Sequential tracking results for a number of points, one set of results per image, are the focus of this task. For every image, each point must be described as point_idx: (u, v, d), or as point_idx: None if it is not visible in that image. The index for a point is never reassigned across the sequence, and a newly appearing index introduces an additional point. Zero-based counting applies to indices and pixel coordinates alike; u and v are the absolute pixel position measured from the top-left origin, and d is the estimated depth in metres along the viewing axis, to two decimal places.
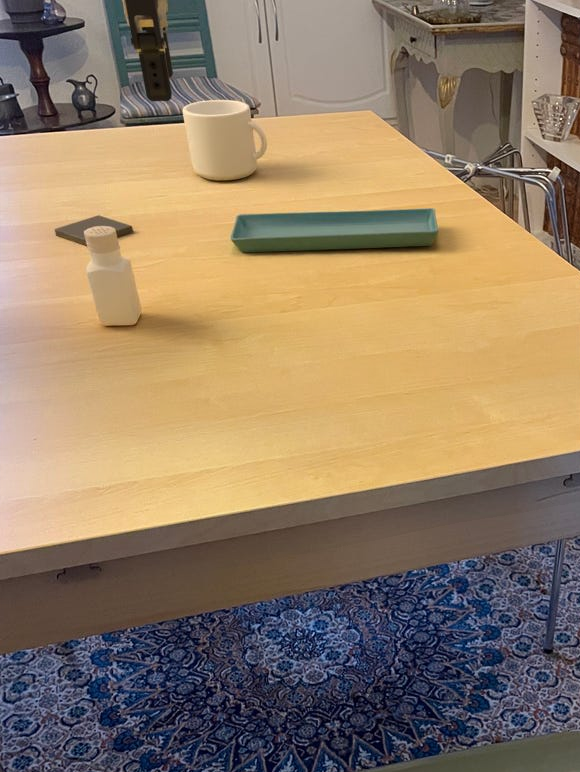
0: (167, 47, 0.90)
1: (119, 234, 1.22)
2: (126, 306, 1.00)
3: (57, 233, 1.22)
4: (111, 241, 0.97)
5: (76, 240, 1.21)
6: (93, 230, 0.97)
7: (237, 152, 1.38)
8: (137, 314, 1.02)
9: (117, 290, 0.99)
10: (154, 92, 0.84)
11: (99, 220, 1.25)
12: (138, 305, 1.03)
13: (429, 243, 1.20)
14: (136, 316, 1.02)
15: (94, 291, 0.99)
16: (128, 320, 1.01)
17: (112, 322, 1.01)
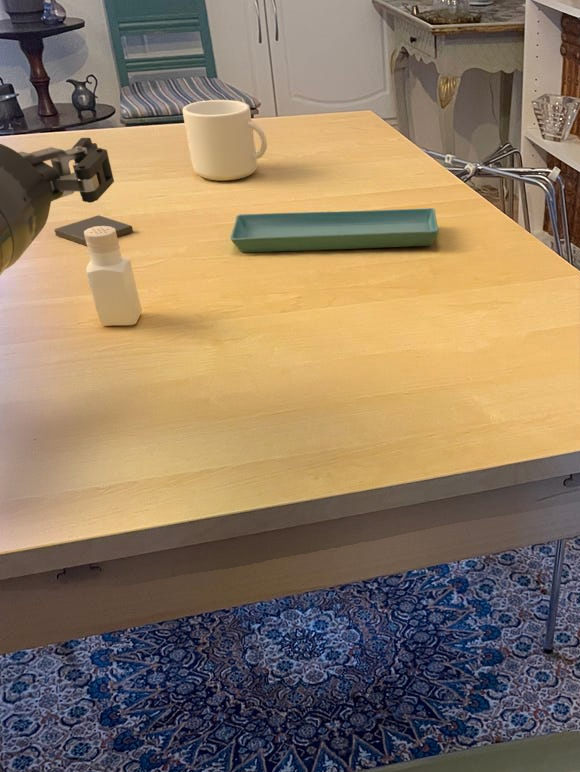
0: None
1: (119, 234, 1.22)
2: (126, 306, 1.00)
3: (57, 233, 1.22)
4: (111, 241, 0.97)
5: (76, 240, 1.21)
6: (93, 230, 0.97)
7: (237, 152, 1.38)
8: (137, 314, 1.02)
9: (117, 290, 0.99)
10: None
11: (99, 220, 1.25)
12: (138, 305, 1.03)
13: (429, 243, 1.20)
14: (136, 316, 1.02)
15: (94, 291, 0.99)
16: (128, 320, 1.01)
17: (112, 322, 1.01)
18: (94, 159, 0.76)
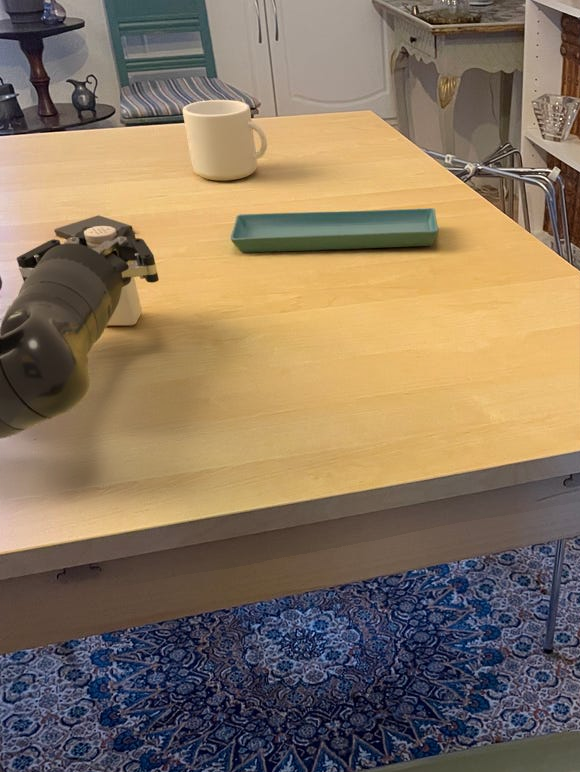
0: None
1: None
2: (126, 306, 1.00)
3: (57, 233, 1.22)
4: None
5: None
6: (93, 230, 0.97)
7: (237, 152, 1.38)
8: (137, 314, 1.02)
9: None
10: None
11: (99, 220, 1.25)
12: (138, 305, 1.03)
13: (429, 243, 1.20)
14: (136, 316, 1.02)
15: None
16: (128, 320, 1.01)
17: (112, 322, 1.01)
18: (145, 248, 0.94)
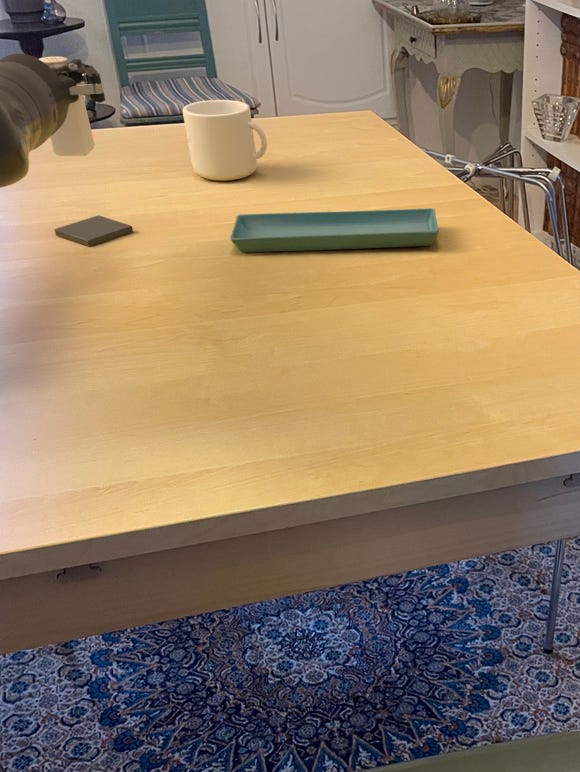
0: None
1: (119, 234, 1.22)
2: (78, 135, 1.07)
3: (57, 233, 1.22)
4: None
5: (76, 240, 1.21)
6: (46, 58, 1.04)
7: (237, 152, 1.38)
8: (89, 146, 1.09)
9: (69, 118, 1.06)
10: None
11: (99, 220, 1.25)
12: (91, 138, 1.10)
13: (429, 243, 1.20)
14: (88, 147, 1.09)
15: None
16: (80, 150, 1.08)
17: (65, 152, 1.08)
18: (93, 70, 1.01)
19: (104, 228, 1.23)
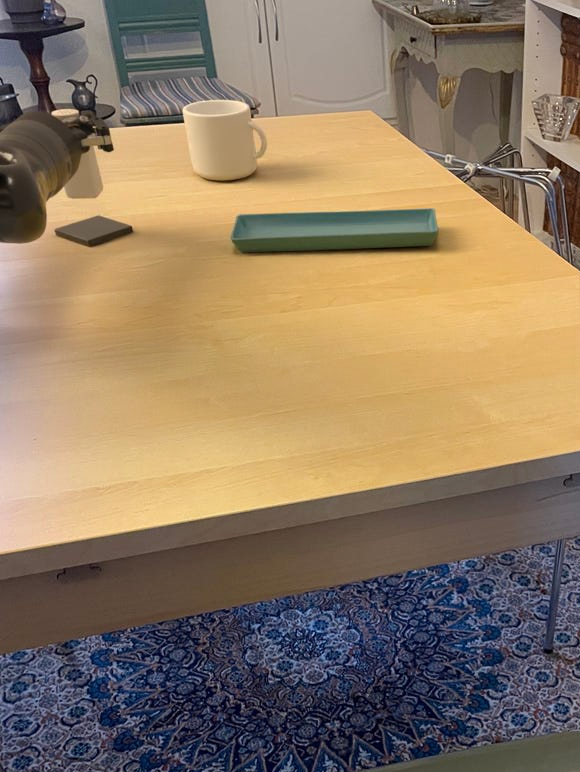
0: None
1: (119, 234, 1.22)
2: (89, 180, 1.17)
3: (57, 233, 1.22)
4: None
5: (76, 240, 1.21)
6: (59, 111, 1.14)
7: (237, 152, 1.38)
8: (99, 189, 1.19)
9: (80, 165, 1.16)
10: None
11: (99, 220, 1.25)
12: (100, 182, 1.20)
13: (429, 243, 1.20)
14: (98, 190, 1.19)
15: None
16: (90, 193, 1.18)
17: (77, 195, 1.18)
18: (102, 123, 1.11)
19: (104, 228, 1.23)
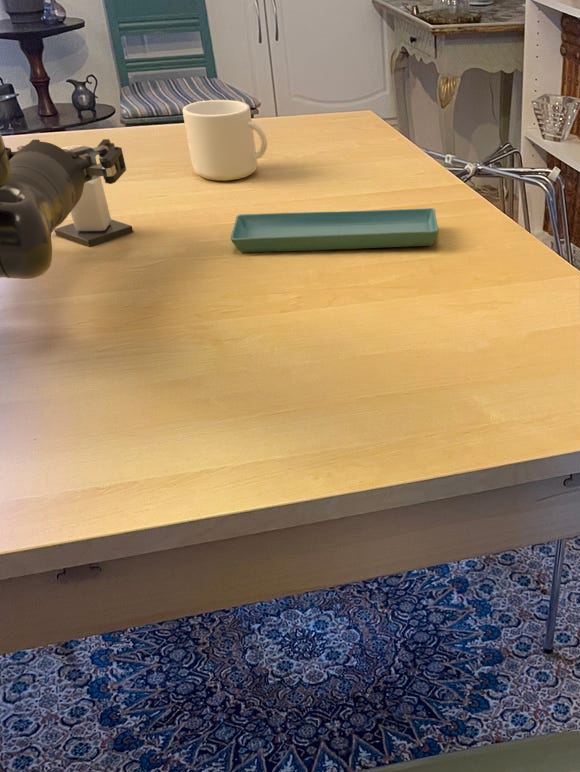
0: None
1: (119, 234, 1.22)
2: (97, 214, 1.20)
3: (57, 233, 1.22)
4: (83, 157, 1.16)
5: (76, 240, 1.21)
6: (68, 147, 1.16)
7: (237, 152, 1.38)
8: (106, 222, 1.22)
9: (89, 199, 1.19)
10: None
11: None
12: (107, 215, 1.22)
13: (429, 243, 1.20)
14: (106, 223, 1.21)
15: None
16: (98, 226, 1.21)
17: (85, 228, 1.21)
18: (113, 154, 1.11)
19: None
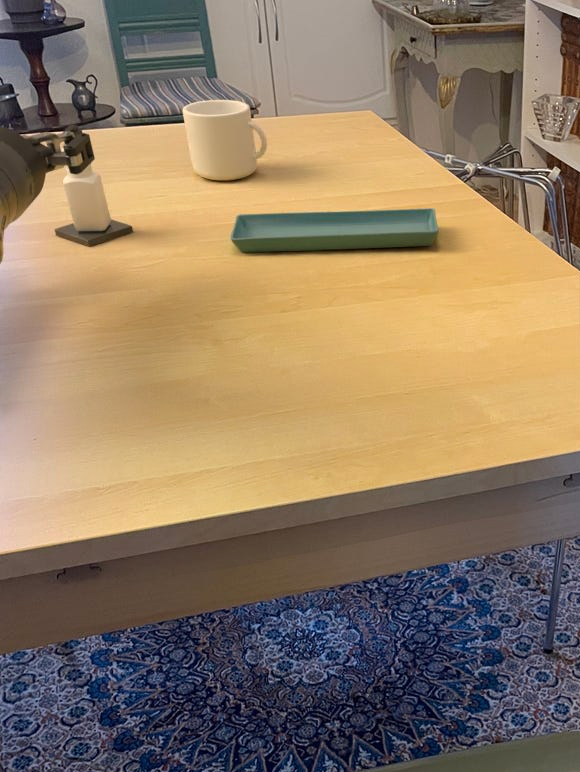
0: None
1: (119, 234, 1.22)
2: (97, 214, 1.20)
3: (57, 233, 1.22)
4: None
5: (76, 240, 1.21)
6: None
7: (237, 152, 1.38)
8: (106, 222, 1.22)
9: (89, 199, 1.19)
10: None
11: None
12: (107, 215, 1.22)
13: (429, 243, 1.20)
14: (106, 223, 1.21)
15: (70, 200, 1.19)
16: (98, 226, 1.21)
17: (85, 228, 1.21)
18: (79, 141, 1.00)
19: None
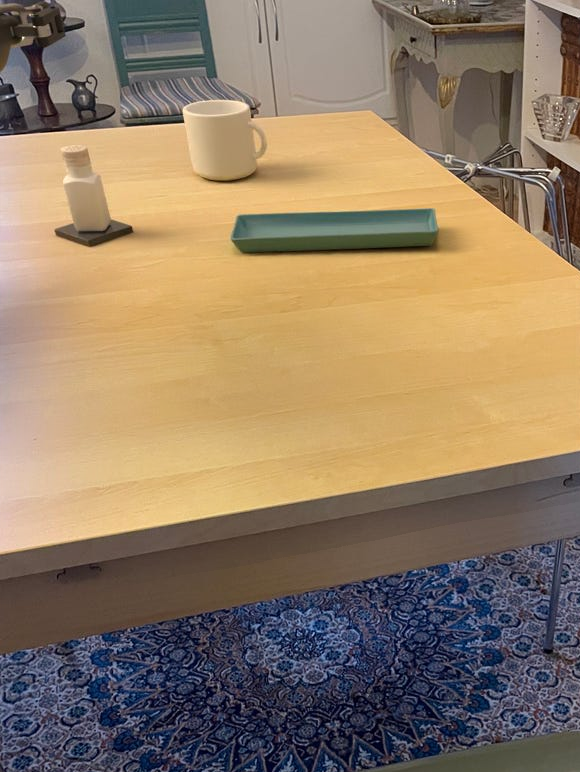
0: None
1: (119, 234, 1.22)
2: (97, 214, 1.20)
3: (57, 233, 1.22)
4: (83, 157, 1.16)
5: (76, 240, 1.21)
6: (68, 147, 1.16)
7: (237, 152, 1.38)
8: (106, 222, 1.22)
9: (89, 199, 1.19)
10: None
11: None
12: (107, 215, 1.22)
13: (429, 243, 1.20)
14: (106, 223, 1.21)
15: (70, 200, 1.19)
16: (98, 226, 1.21)
17: (85, 228, 1.21)
18: (47, 12, 0.92)
19: None
